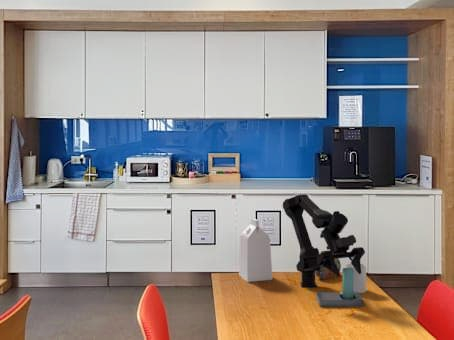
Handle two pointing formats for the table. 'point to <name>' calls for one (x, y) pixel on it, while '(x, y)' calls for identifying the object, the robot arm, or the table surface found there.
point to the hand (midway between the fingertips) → (350, 275)
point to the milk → (255, 254)
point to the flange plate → (339, 300)
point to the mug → (358, 278)
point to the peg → (348, 283)
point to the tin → (327, 271)
